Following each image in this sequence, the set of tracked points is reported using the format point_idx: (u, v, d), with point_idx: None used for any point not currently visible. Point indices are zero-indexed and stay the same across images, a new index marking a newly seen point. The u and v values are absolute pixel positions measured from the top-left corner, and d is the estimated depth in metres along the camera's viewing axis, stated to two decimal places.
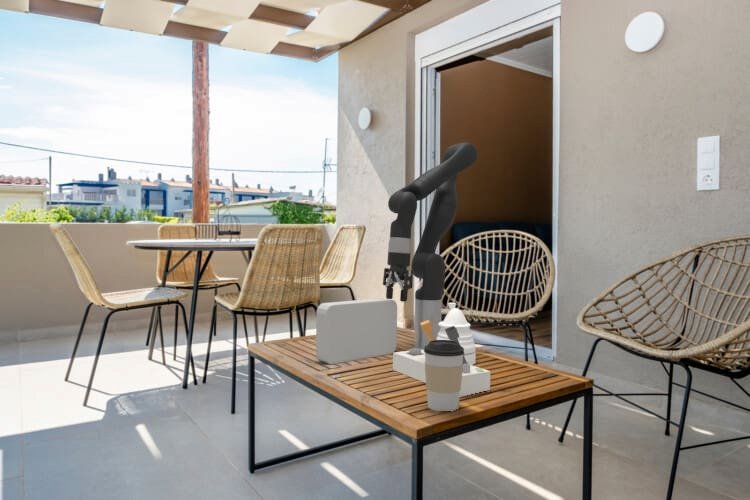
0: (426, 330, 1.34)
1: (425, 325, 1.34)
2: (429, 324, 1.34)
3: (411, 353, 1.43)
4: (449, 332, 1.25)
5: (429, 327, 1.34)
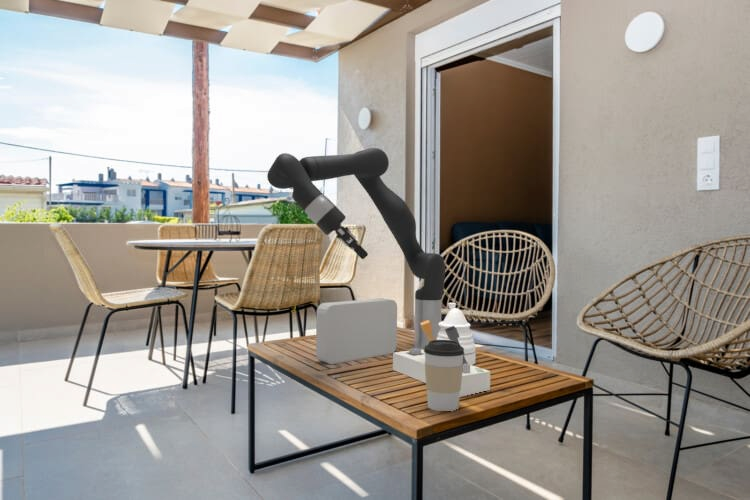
0: (426, 330, 1.34)
1: (425, 325, 1.34)
2: (429, 324, 1.34)
3: (411, 353, 1.43)
4: (449, 332, 1.25)
5: (429, 327, 1.34)
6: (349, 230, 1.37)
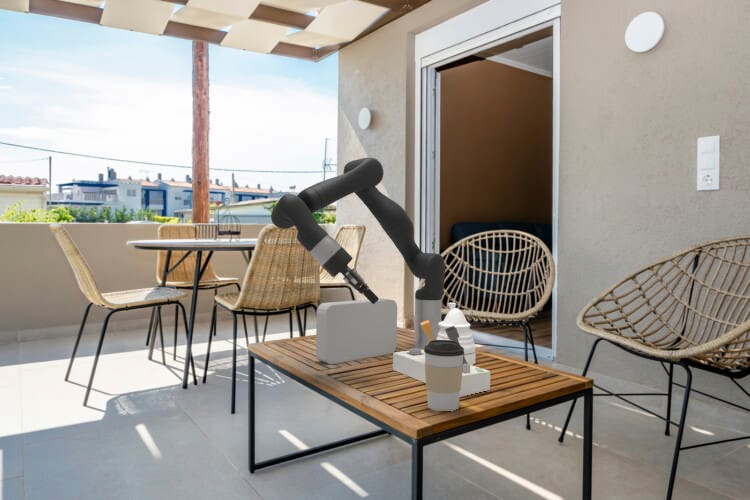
0: (426, 330, 1.34)
1: (425, 325, 1.34)
2: (429, 324, 1.34)
3: (411, 353, 1.43)
4: (449, 332, 1.25)
5: (429, 327, 1.34)
6: (357, 273, 1.33)
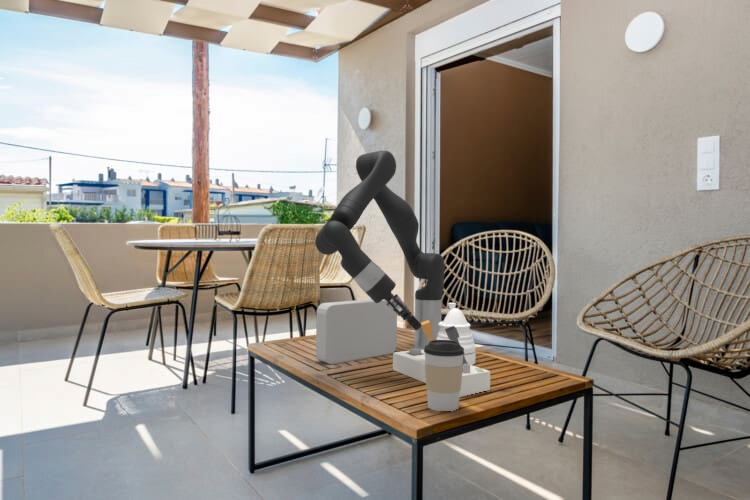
0: (426, 330, 1.34)
1: (425, 325, 1.34)
2: (429, 324, 1.34)
3: (411, 353, 1.43)
4: (449, 332, 1.25)
5: (429, 327, 1.34)
6: None
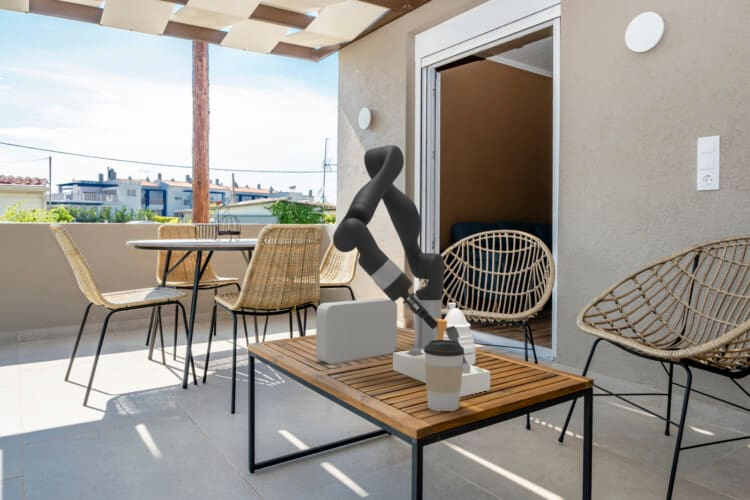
0: (440, 327, 1.34)
1: (441, 322, 1.34)
2: (445, 323, 1.34)
3: (411, 353, 1.43)
4: (449, 332, 1.25)
5: (444, 326, 1.34)
6: (417, 298, 1.34)
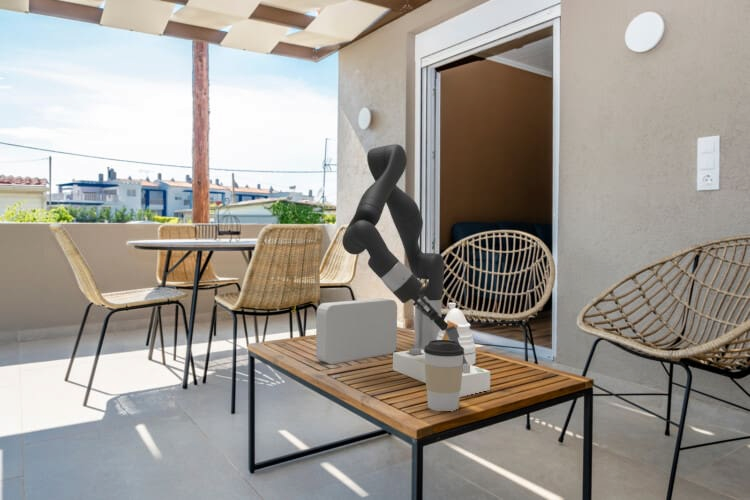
0: None
1: (452, 325, 1.34)
2: (456, 327, 1.34)
3: (411, 353, 1.43)
4: (449, 332, 1.25)
5: None
6: (428, 299, 1.34)
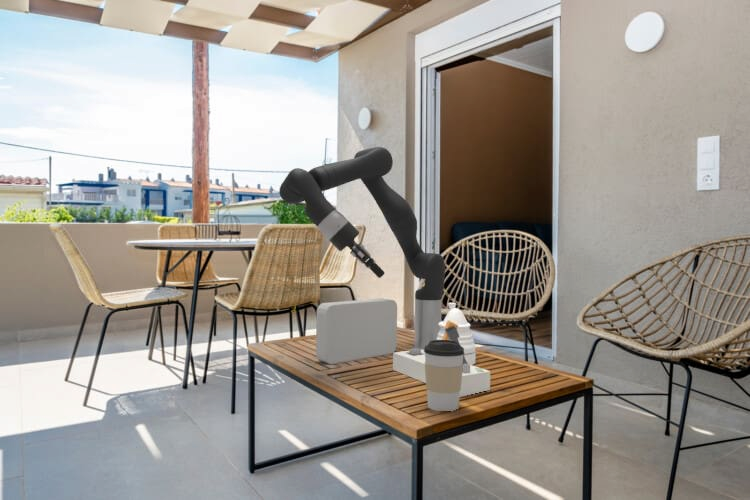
0: None
1: (452, 325, 1.34)
2: (456, 327, 1.34)
3: (411, 353, 1.43)
4: (449, 332, 1.25)
5: None
6: None
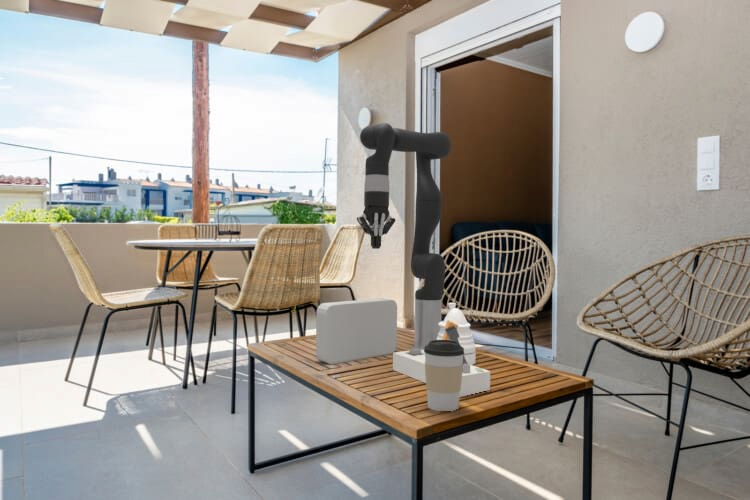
0: None
1: (452, 325, 1.34)
2: (456, 327, 1.34)
3: (411, 353, 1.43)
4: (449, 332, 1.25)
5: None
6: (375, 218, 1.49)
